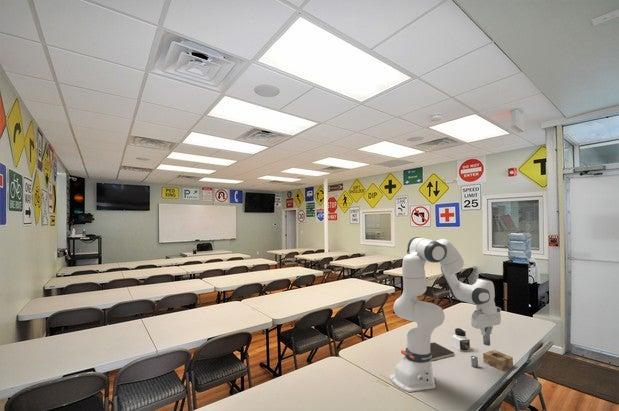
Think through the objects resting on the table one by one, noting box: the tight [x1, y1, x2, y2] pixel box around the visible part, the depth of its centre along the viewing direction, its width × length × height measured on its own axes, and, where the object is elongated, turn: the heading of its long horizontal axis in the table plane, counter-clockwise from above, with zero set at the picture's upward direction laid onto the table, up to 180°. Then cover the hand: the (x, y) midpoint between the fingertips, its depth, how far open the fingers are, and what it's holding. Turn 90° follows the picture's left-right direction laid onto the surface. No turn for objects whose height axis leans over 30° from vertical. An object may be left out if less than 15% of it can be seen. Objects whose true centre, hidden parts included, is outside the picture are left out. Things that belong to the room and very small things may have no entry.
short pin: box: [470, 355, 479, 369], centre depth 151 cm, size 3×3×5 cm
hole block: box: [482, 349, 514, 372], centre depth 154 cm, size 10×10×5 cm
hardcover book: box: [405, 342, 455, 362], centre depth 167 cm, size 16×23×2 cm
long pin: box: [482, 327, 491, 347], centre depth 150 cm, size 3×3×10 cm
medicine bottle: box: [451, 327, 471, 352], centre depth 173 cm, size 7×7×12 cm
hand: (486, 334), depth 150 cm, fingers closed on long pin, 3 cm apart
